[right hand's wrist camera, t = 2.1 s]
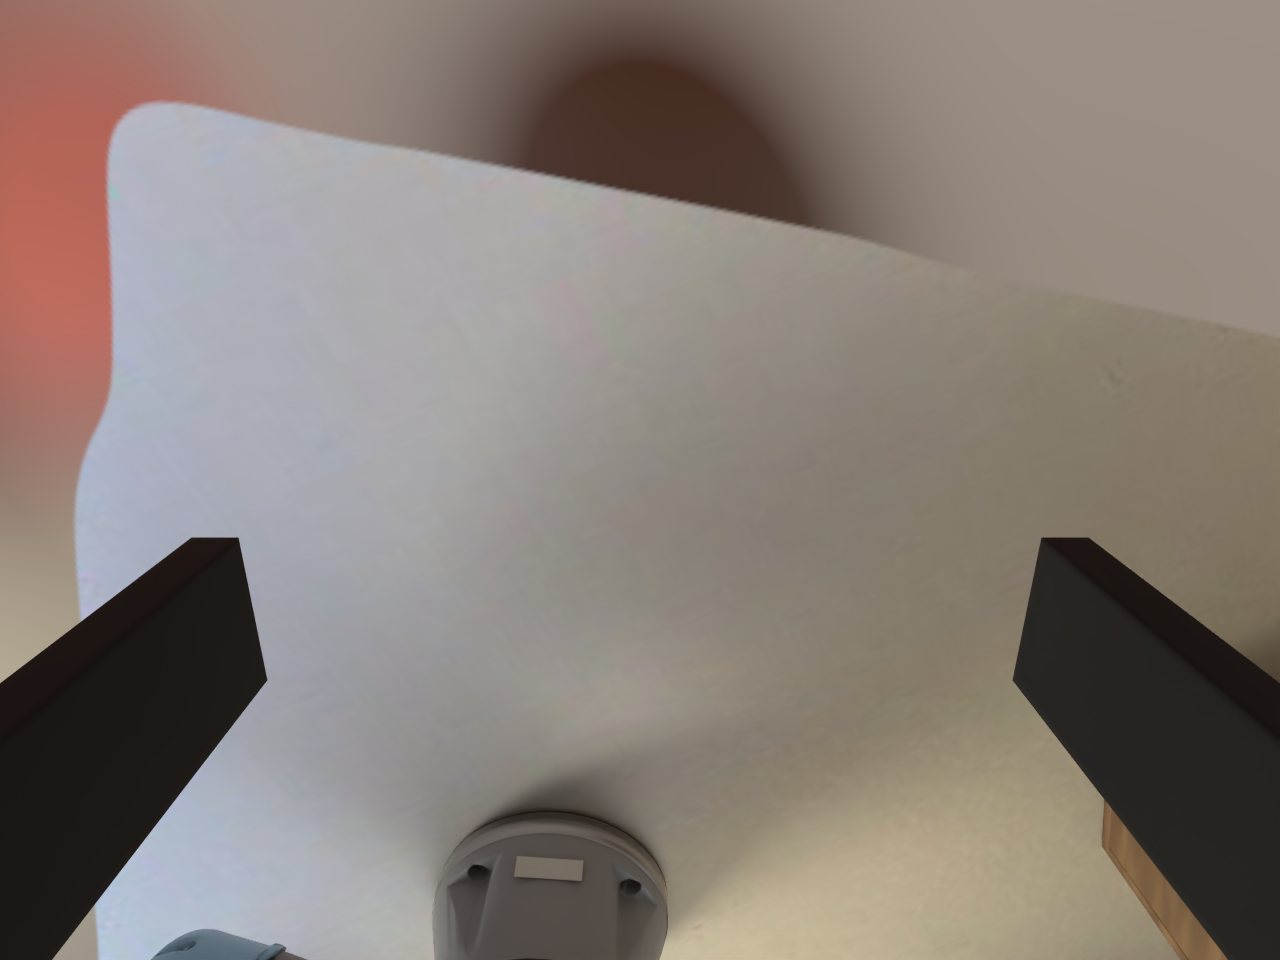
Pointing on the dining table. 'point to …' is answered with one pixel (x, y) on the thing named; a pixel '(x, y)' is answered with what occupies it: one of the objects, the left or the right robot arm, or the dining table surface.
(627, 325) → the dining table surface
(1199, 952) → the wooden box
